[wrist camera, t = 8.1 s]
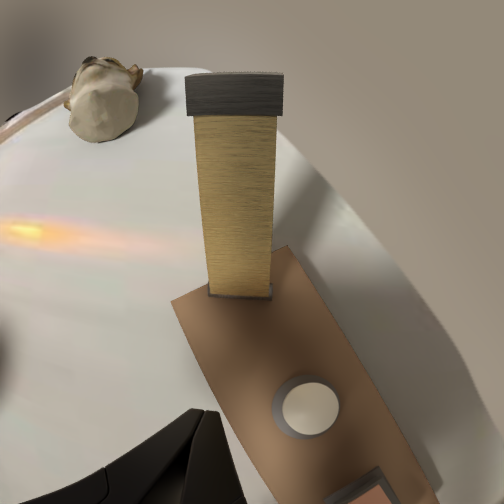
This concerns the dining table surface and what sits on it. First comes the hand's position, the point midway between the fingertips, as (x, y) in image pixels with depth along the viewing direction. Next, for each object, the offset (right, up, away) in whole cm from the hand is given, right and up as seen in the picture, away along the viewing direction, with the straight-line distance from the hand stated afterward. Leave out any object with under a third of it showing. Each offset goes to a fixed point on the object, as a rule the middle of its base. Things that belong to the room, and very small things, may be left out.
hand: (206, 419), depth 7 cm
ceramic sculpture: (-15, +21, +22) cm, 34 cm away
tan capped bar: (+1, +3, +9) cm, 10 cm away
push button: (+4, -3, +6) cm, 8 cm away
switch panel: (+5, -5, +8) cm, 11 cm away
